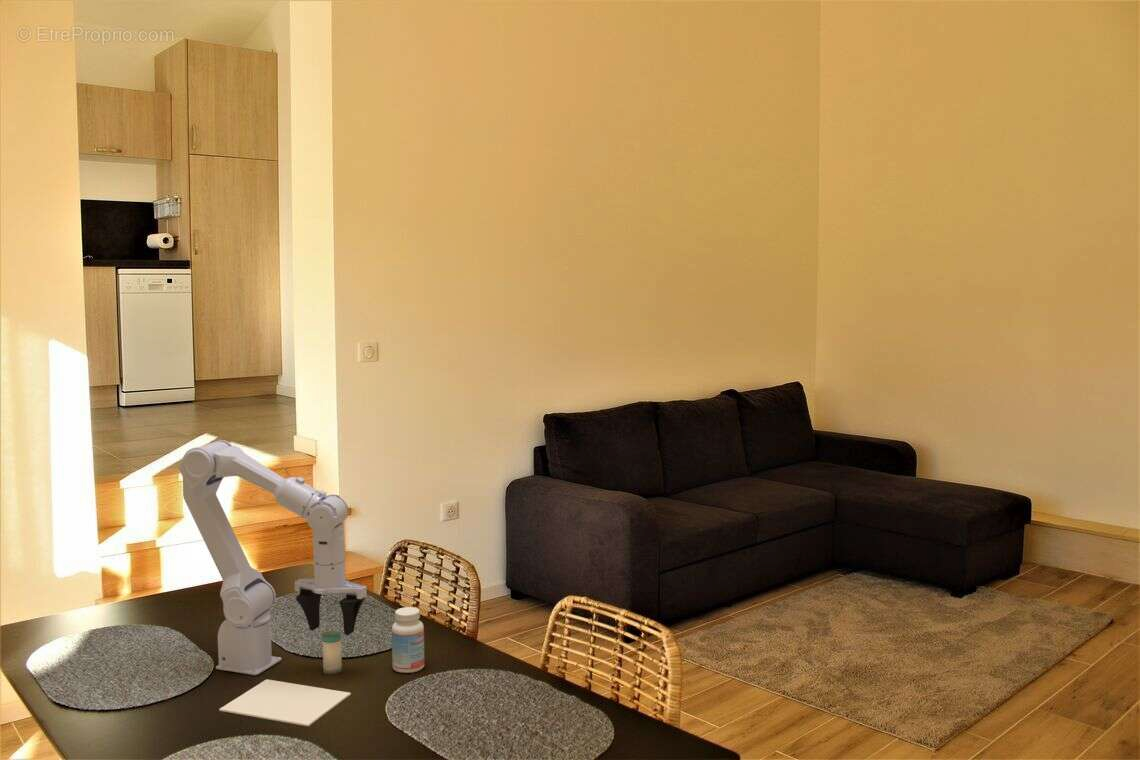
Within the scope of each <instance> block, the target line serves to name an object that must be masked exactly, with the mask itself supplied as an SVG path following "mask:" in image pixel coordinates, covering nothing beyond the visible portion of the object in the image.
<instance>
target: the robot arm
mask: <svg viewBox="0 0 1140 760" xmlns="http://www.w3.org/2000/svg"><path fill="white" fill-rule="evenodd" d="M178 469H179V471H180V474H181V477H182V496H183V499H184V501H185V504H186V506H187V508H188V510H189V512H190V514H191V517H192V519H193V521H194V523H195V525H196V526H197V529H198V532H199V533H200V535H201V537H202V540H203V541H204V544H205V545H206V548H207V550H208V552H209V554H210V557H211V558H212V561H213V562H214V565H215V567H216V568H217V571H218V573H219V574H220V575H219V576H220V577H221V579H222V585H221V588H220V593H219V596H220V598H221V600H222V603H223V604H222V607H223V609H222V610H223V615H224V617H225V620H224V621H222V623H221V625H219V628H218V631H217V650H218V651H217V653H218V655H217V656H218V665H216V666H215V669H216V670H220V671H227V672H234V673H239V674H244V675H251V676H257V675H259V674H261V673H263V672H264V671H266V670H267V669H270V668H271V667H273V666H274V665H276V664H278V663H279V662H281V661H282V657H280V656H273V655H272V633H271V632H272V629H271V628H272V627H271V609H272V607H273V606H274V605H275V602H276V600H277V599H276V597H277V594H276V591H275V588H274V587H273V586H272V585H271V584H270V583H269V582H268V581H267V580H266V579H265V577H264V576H263V574H262V572H261V571H259V570H257V569H255V568H253V567H252V566H251V564H250V563H249V560H248V558H247V556H246V554H245V552H244V551H243V548H242V546H241V544H240V542H239V540H238V538H237V536H236V533H235V532H234V529H233V527H232V525H231V523H230V521H229V518H228V517H227V514H226V512H225V510H224V508H223V507H222V504H221V502H220V500H219V498H218V496H217V492H218V490H219V488H220V485H221V483H222V480H223V479H224V478H227V477H229V478H230V477H239V478H240V479H242V480H245V481H247V482H249V483H251V484H253V485H255V486H256V487H259V488H260V489H263V490H265V491H267V492H269V493H271V494H273V495H274V499H275V501H276V503H277V504H278V505H280V506H281V507H283V508H285V509H287V510H288V511H290V512H292V513H294V514H295V515H297V516H299V517H301V518H303V519H304V520H306V522H307V525H308V526H309V528H310V529H311V530H312V545H313V546H312V547H313V574H314V576H313V578H299V579H297V580H295V581H294V591H295V592H297V593H298V592H299V594H297V595H296V596H295V597H296V598H295V599H296V601H297V603H298V604H299V606H300V607H301V609H302V611H303V613H304V616H305V617H306V621H307V624H308V627H309V631H315V630H316V629H318V628H320V620H321V619H320V607H321V598H322V595H324V594H328V595H335V596H344V598H343V599H341V600H339V601H338V604H339V606H340V610H341V612H342V618H343V632H344V635H345V636H350V635H351V634H352V633H354V631H355V627H356V625H355V624H356V622H357V617H358V615H359V612H360V610H361V609H360V608H361V607H362V606H363V603H364V601H365V598H366V597H367V595H368V594H367V592H368V591H367V589H368V588H367V585H362V584H357V583H354V582H351V581H348V580H346V550H345V549H346V548H345V546H346V545H345V525H344V524H345V523H344V522H345V520H346V518H347V517H348V516H349V515H348V514H349V508H348V507H349V506H348V504H347V502H346V501H345V500H344V499H343V498H342V497H341V496H340V495H339V494H334V493H332V494H327V492H326V491H324V490H321V491H320V490H318V489H316V488H315V487H313V486H312V485H310V484H308V483H306V482H305V481H306V479H305V478H303V477H301V476H298V477H296V476H290V477H287V478H284V477H283V476H281V475H280V474H278V473H276V472H275V471H273V470H272V469H270V468H268V467H267V466H265V465H264V464H262V463H260V462H259V461H257V460H256V459H254V458H253V457H251V456H250V455H248V454H247V453H245V452H244V450H243V449H241V447H239V446H237V445H233V444H232V443H231V442H229V441H227V440H224V439H217V440H213V441H212V442H210V443H207V444H203V445H201V446H196V447H192V448H190V449H188V450H187V451H186V452H185V454H184V455H183V456H182V459H181V461H180V463H179V465H178Z"/></svg>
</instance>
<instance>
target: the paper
mask: <svg viewBox="0 0 1140 760" xmlns="http://www.w3.org/2000/svg"><path fill="white" fill-rule="evenodd" d="M351 695H352V693H351V692H349V691H341V690H334V689H329V688H324V687H317V686H312V685H311V686H310V685H305V684H298V683H291V682H286V681H285V682H284V681H279V680H273V679H265V680H263V681H261V682H259V684H257V685H255V686H254V687H252V688H250V689H249V690H246V692H244V693H243V694H241V695H239V696H238V697H236V698H235V699H233V700H232V701H230V702H228V703H227V704H225V705H224V706H221V707H220V708H219V709H218V710H219V712H223V713H231V714H237V715H242V716H249V717H253V718H258V719H264V720H268V721H269V720H270V721H274V722H275V721H276V722H281V723H287V724H293V725H298V726H304V727H310V726H311V725H312V724H314V723H315V722H316V721H317V720H319V719H320V718H322V717H323V716H324V715H326V714H327V713H328V712H329V711H331V710H332V709H334V708H335V707H336V706H337V705H339V704H340V703H342V702H343V701H344V700H345V699H347V698H348V697H350V696H351Z"/></svg>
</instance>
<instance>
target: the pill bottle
mask: <svg viewBox="0 0 1140 760" xmlns="http://www.w3.org/2000/svg"><path fill="white" fill-rule="evenodd" d="M420 612H421V611H420V609H419V608H417V607H413V606H405V607H401V608H397V609H396V610H395V613H394V618H395V620H396V621H395V622H394V623H393V624H392V625H391V655H392V656H391V659H392V664H391V665H392V669H393V670H394V671H395V672H396V673H403V674H404V673H407V674H408V673H409V674H411V673H416V672H419V671H421V670H422V669H423V668H424V667H425V628H424V623H423V622H422V621H421V620H419V619H420V617H421V613H420Z"/></svg>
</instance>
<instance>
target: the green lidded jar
mask: <svg viewBox="0 0 1140 760" xmlns="http://www.w3.org/2000/svg"><path fill="white" fill-rule="evenodd" d="M321 641H322V665H323V666H322V667H323V673H324V675H336V674H339V673H341V672H342V670H343V666H342V665H343V664H342V662H343V661H342V632H341V631H339V630H330V631H325V632H323V633H322V634H321Z"/></svg>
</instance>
